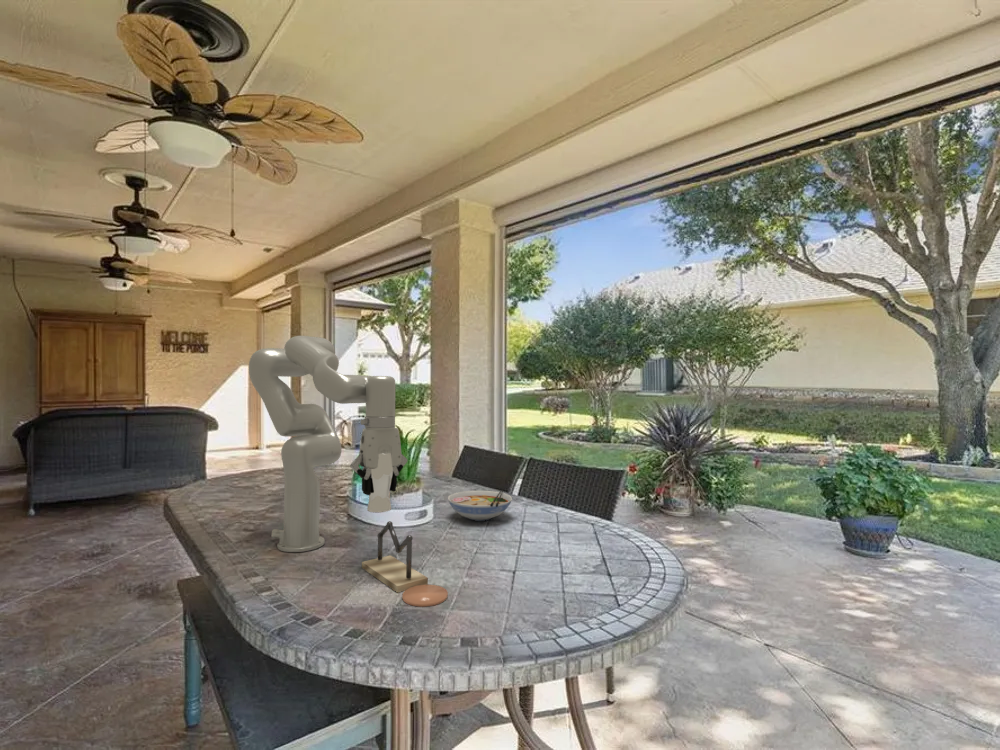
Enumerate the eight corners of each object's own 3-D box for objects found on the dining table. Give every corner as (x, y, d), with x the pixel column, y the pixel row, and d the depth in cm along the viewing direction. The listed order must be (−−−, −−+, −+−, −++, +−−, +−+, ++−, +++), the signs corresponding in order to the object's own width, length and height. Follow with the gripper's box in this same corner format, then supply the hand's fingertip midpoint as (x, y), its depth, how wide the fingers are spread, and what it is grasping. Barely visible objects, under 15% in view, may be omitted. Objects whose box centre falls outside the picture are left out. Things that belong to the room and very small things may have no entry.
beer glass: (386, 514, 125) (386, 454, 126) (360, 512, 127) (361, 453, 127) (397, 507, 132) (397, 450, 132) (372, 505, 133) (373, 449, 134)
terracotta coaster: (396, 605, 107) (396, 602, 107) (409, 586, 116) (409, 583, 116) (442, 607, 106) (442, 605, 106) (451, 588, 116) (451, 585, 116)
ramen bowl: (455, 507, 189) (456, 486, 189) (515, 511, 186) (516, 489, 186) (438, 526, 164) (439, 502, 164) (507, 530, 161) (508, 505, 161)
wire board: (361, 567, 127) (361, 561, 127) (390, 561, 132) (390, 555, 132) (397, 592, 113) (397, 586, 113) (427, 584, 118) (427, 577, 118)
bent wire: (375, 559, 128) (376, 516, 129) (381, 557, 129) (382, 515, 130) (407, 579, 116) (408, 532, 116) (413, 577, 117) (413, 531, 117)
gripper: (354, 425, 121) (353, 499, 121) (416, 422, 132) (416, 490, 132) (342, 423, 127) (341, 494, 127) (402, 421, 138) (402, 485, 138)
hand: (379, 491), depth 129 cm, fingers closed on beer glass, 6 cm apart
